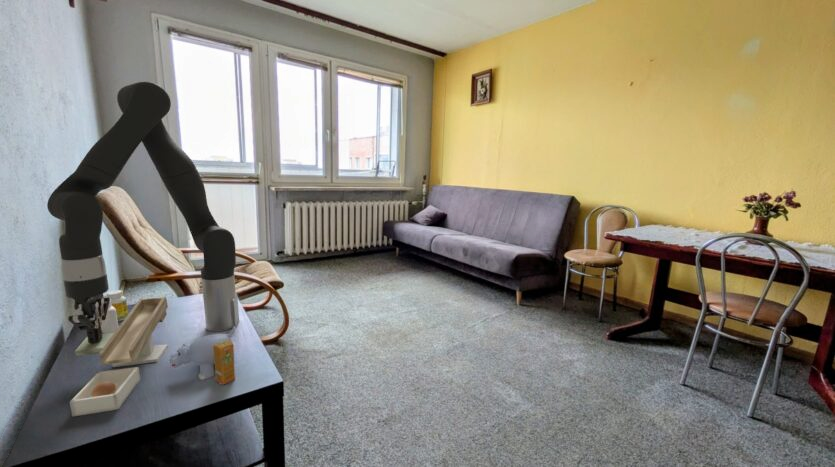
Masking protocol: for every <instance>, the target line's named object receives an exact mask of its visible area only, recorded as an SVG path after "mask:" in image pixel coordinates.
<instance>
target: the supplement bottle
mask: <svg viewBox="0 0 835 467" xmlns="http://www.w3.org/2000/svg"><path fill="white" fill-rule="evenodd" d="M106 296H107V297H109V298H110V299H111V304H112V306H113V307H114V308H115V309H116V314H117V320H118V322H123V321H124V319H125V318H126V317H127V315H128V314H129V311H128V309H129V308H128V303H127V298H126V296H124V292H123V290H122V289H121V290H120V289H117V290H110V291H107V292H106Z"/></svg>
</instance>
